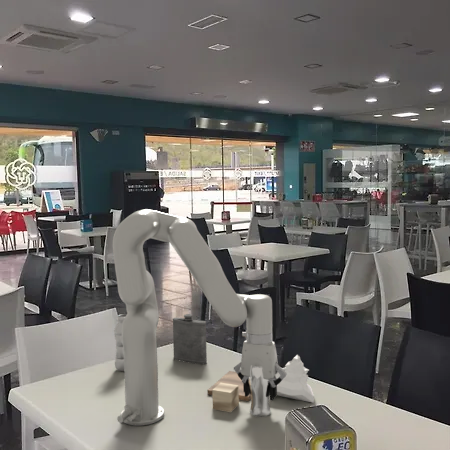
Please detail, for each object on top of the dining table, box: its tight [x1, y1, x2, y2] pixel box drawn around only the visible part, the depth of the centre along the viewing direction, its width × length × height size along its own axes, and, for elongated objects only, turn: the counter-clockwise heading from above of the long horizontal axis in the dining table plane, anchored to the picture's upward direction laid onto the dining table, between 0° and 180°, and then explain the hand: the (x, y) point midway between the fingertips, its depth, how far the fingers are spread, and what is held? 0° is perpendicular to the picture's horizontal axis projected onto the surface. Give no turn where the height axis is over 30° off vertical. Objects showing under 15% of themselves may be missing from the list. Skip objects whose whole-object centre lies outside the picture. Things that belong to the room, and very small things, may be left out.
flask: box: [172, 313, 208, 365], centre depth 196 cm, size 4×14×18 cm, turn 62°
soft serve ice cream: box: [275, 354, 315, 404], centre depth 163 cm, size 12×15×14 cm
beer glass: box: [248, 365, 271, 418], centre depth 151 cm, size 7×7×15 cm
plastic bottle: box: [113, 314, 127, 372], centre depth 188 cm, size 6×7×20 cm
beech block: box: [211, 383, 240, 413], centre depth 156 cm, size 6×6×6 cm
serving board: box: [207, 370, 251, 402], centre depth 171 cm, size 18×14×2 cm
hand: (260, 396), depth 151 cm, fingers open, 7 cm apart
